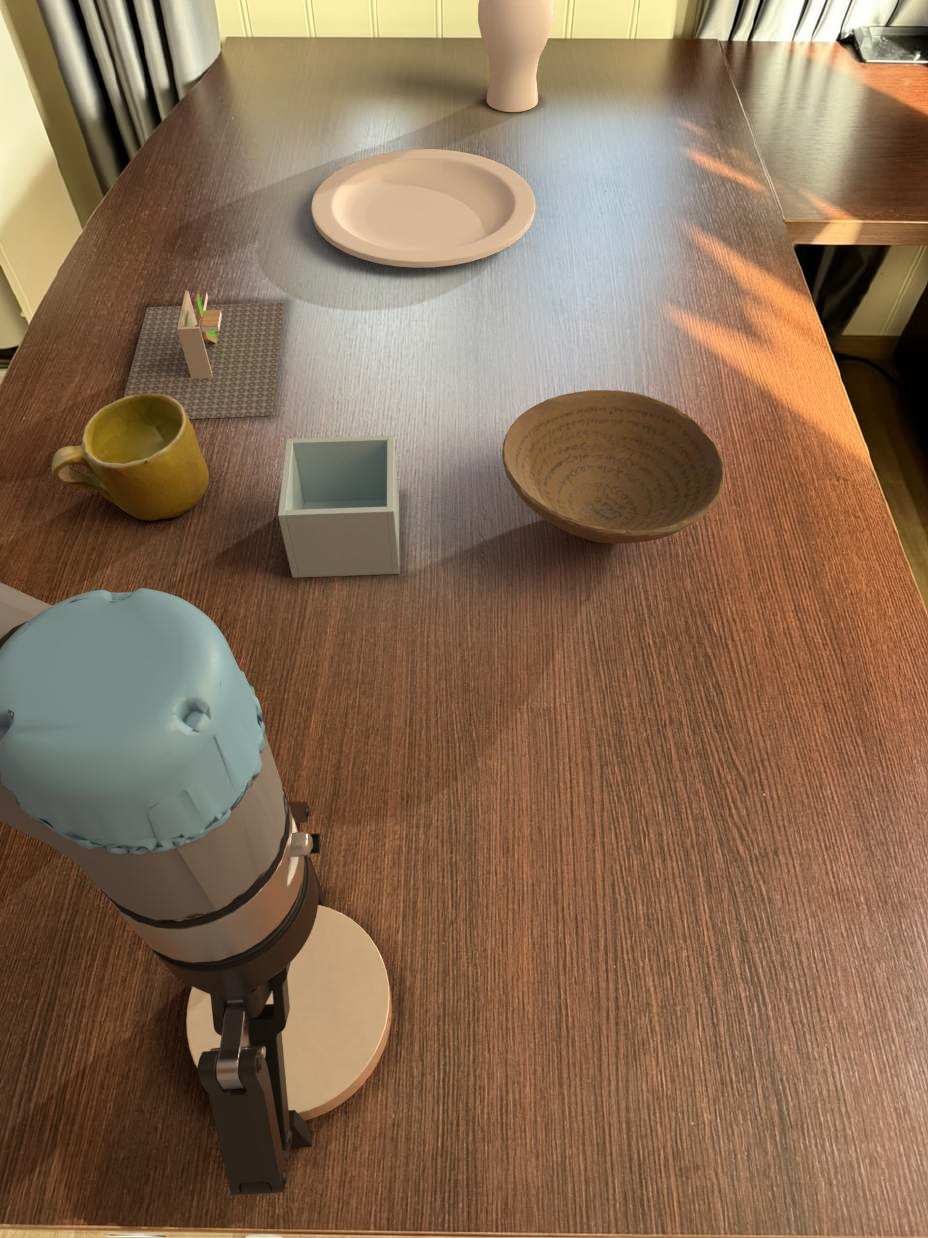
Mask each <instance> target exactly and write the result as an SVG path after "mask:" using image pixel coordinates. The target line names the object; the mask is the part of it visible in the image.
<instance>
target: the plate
mask: <svg viewBox="0 0 928 1238" xmlns="http://www.w3.org/2000/svg"><path fill="white" fill-rule="evenodd" d="M311 200H312V201H311V206H310V208H311V209H310V210H311V215H312V221H313V224H314V226H315V228H316V230H317V231H318V232H319V234H320V235H321V236H322V237H323V238H324V240H326V241H327V242H328V243H329V244H331V245H332V246H333V247H335V248H337V249H338V250H340V251H342V252H344V253H346V254H347V255H351V256H353V257H355V258H358V259H361V260H363V261H368V262H372V263H376V264H380V265H386V266H392V267H399V268H400V267H402V268H403V267H404V268H414V269H417V268H439V267H448V266H449V267H451V266H455V265H456V266H457V265H461V264H466V263H471V262H474V261H478V260H482V259H484V258H487V257H490V256H492V255H494V254H497V253H500V252H501V251H504V250H505V249H507V248H508V247H510V246H512V245H513V244H514V243H516V242H517V241H519V239H521V238H522V237H523V236H524V235H525V234H526V232H527V231H528V230H529V228H530V227H531V226H532V224H533V221H534V219H535V214H536V199H535V194H534V192H533V190H532V188H531V186H530V185H529V183H528V182H527V181H526V180H525V179H524V178H523V177H522V176H521V175H520V174H518V173H517V172H516V171H514V170H513V169H511V168H510V167H508V166H507V165H504V164H503V163H500V162H498V161H496V160H493V159H490V158H488V157H485V156H481V155H478V154H472V153H468V152H463V151H457V150H450V149H432V148H426V149H425V148H423V149H422V148H417V149H416V148H415V149H405V150H397V151H390V152H383V153H380V154H376V155H371V156H368V157H365V158H362V159H359V160H357V161H354V162H351V163H349V164H347V165H345V166H343V167H341V168H340V169H337V170H336V171H335V172H333V173H331V175H329V176H328V177H326V178H325V180H323V181H322V182H321V183H320V185H319V186H318V188H317V189H316V190H315V192H314V195H313V197H312V199H311Z"/></svg>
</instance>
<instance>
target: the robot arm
mask: <svg viewBox="0 0 928 1238" xmlns="http://www.w3.org/2000/svg"><path fill="white" fill-rule="evenodd" d="M248 681H249V680H248V679H247V677H246V674H245V672H244V670H241V669H240V666H239V665H238V663H237V661H236V658H235V656H234V654H233V652H232V650H231V647H230V645H229V642H228V641H227V639H226V637H225V636H224V634H223V633H222V631H221V630H220V629H219V627H218V626H217V624H216V623H215V622H214V621H213V620H212V619H211V618H210V617H209V616H208V615H207V614H206V613H204V612H203V611H202V610H201V609H199V608H198V607H196V606H195V605H194V604H192V603H190V602H189V601H187V600H185V599H184V598H181V597H179V596H177V595H174V594H171V593H168V592H164V591H160V590H155V589H151V588H146V587H140V588H137V589H135V590H134V591H124V592H123V591H122V592H113V591H108V590H106V589H98V590H91V591H87V592H84V593H80V594H77V595H74V596H71V597H68V598H66V599H64V600H62V601H59V602H57V603H55V604H53V605H52V604H50V603H47V602H44V601H42V600H40V599H38V598H36V597H33V596H31V595H29V594H28V593H25V592H23V591H20V590H18V589H16V588H13V587H12V586H10V585H7V584H5V583H3V582H1V581H0V822H1V823H3V824H5V825H7V826H9V827H11V828H14V829H15V830H17V831H19V832H21V833H23V834H25V835H27V836H29V837H31V838H33V839H35V840H37V841H39V842H41V843H42V844H43V843H44V844H45V845H47V846H49V847H51V848H53V849H55V850H56V851H58V852H59V853H62V854H63V855H64V856H66V857H67V858H68V859H70V860H71V861H73V862H74V863H75V864H76V865H78V866H79V867H80V869H81V870H82V871H83V872H84V873H85V874H86V875H87V876H88V877H89V878H90V880H92V882H94V884H95V885H96V886H97V887H98V888H99V889H100V891H101V892H102V894H104V896H105V897H106V898H107V899H108V900H109V901H110V902H111V904H112V905H113V906H114V908H115V909H116V911H118V912H119V914H120V915H121V916H122V917H123V919H124V920H125V921H126V923H127V924H128V925H129V926H130V927H131V928H132V930H133V931H134V932H135V933H136V934H137V935H138V936H139V937H140V938H141V940H143V942H145V944H146V945H147V946H148V947H149V948H150V949H151V951H152V952H153V953H154V954H155V955H156V957H157V958H158V959H159V960H160V962H162V964H164V966H165V967H166V968H167V969H168V971H170V972H171V974H172V975H174V976H175V977H176V978H178V979H179V980H180V981H182V982H183V983H185V984H186V985H189V987H190V986H191V988H192V987H194V988H197V989H199V990H201V991H203V992H206V993H208V994H210V996H211V1006H212V1015H213V1025H214V1030H215V1032H216V1033H217V1034H219V1035H221V1043H220V1048H211V1049H210V1051H203V1052H202V1054H201V1056H200V1058H199V1062H198V1068H197V1067H196V1069H197V1074H198V1080H199V1083H200V1084H201V1085H202V1087H203V1088H204V1090H205V1091H206V1093H207V1094H208V1098H209V1103H210V1107H211V1111H212V1116H213V1121H214V1125H215V1130H216V1133H217V1139H218V1143H219V1147H220V1151H221V1156H222V1157H221V1158H222V1161H223V1166H224V1170H225V1175H226V1179H227V1183H228V1188H229V1191H230V1195H231V1196H246V1195H263V1194H265V1195H266V1194H275V1193H276V1194H278V1193H284V1191H285V1190H286V1187H287V1184H288V1177H289V1175H288V1171H287V1170H286V1162H289V1161H290V1159H291V1152H292V1151H291V1149H297V1148H310V1147H313V1138H314V1137H313V1136H314V1131H313V1129H312V1128H311V1127H310V1126H309V1125H308V1124H307V1123H306V1120H305V1121H304V1120H303V1119H302V1118H301V1116H300V1115H299V1114H298V1113H297V1112H296V1110H288V1099H287V1088H286V1076H285V1065H284V1053H283V1042H282V1031H283V1030H284V1029H285V1027H286V1023H287V1019H288V1015H289V1010H290V1004H289V992H288V981H287V975H288V971H289V968H290V964H291V961H292V960H293V959H294V958H295V957H296V956H297V954H298V953H299V952H300V950H301V949H302V948H303V946H304V945H305V943H306V941H307V939H308V937H309V936H310V933H311V931H312V929H313V926H314V923H315V919H316V915H317V909H318V905H320V906H324V907H325V895H324V892H323V889H322V886H321V883H320V881H319V877H318V875H317V872H316V869H315V867H314V864H313V861H312V857H309V855H313V854H320V853H321V845H322V844H321V843H322V841H321V834H320V833H318V832H316V833H309V832H308V831H301V824H302V823H308V820H309V817H310V815H311V809H310V807H309V806H310V805H308V802H307V801H289V800H288V798H287V795H286V792H285V790H284V787H283V781H282V780H281V776H280V774H279V770H278V768H277V764H276V761H275V758H274V756H273V753H272V750H271V746H270V742H269V741H268V737H267V734H266V725H265V723H264V720H263V712H262V708H261V704H260V700H259V698H258V697H257V696H256V692H255V688H254V687H253V685H250V683H249V682H248ZM271 993H273V1004H266V1002H267V1000H268V998H269V997H270V995H271Z"/></svg>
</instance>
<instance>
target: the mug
mask: <svg viewBox="0 0 928 1238" xmlns="http://www.w3.org/2000/svg"><path fill="white" fill-rule="evenodd" d="M123 397H124V396H123ZM123 397H121V398H119V399H117V400H114V401H113V402H111V403H109V404H107V405H104V406H103V407H101V408H100V409H98V411H96V412H95V413H94V414H93V416H92V417H90V419H89V420H88V421H87V423H86V424H85V426H84V430H83V436H82V438H81V439H82V442H81V444H79V445H68V446H63V447H61V448H59V449H58V450H57V451H56V452H55V453H54V455H53V457H52V461H51V475H52V476H53V477H54V478H55V479H57V480H58V481H59V482H60V483H63V484H66V485H68V486H70V487H75V488H79V489H86V490H89V491H93V492H96V493H99V494H100V495H101V496H103V497H104V498H105V499H106V500H108V501H109V502H110V503H112V504H113V505H115V506H117V507H118V508H119V509H120V510H122V511H123V512H125V513H127V514H128V515H130V516H132V517H133V518H135V519H139V520H142V521H147V522H153V521H159V520H162V519H163V520H164V519H167V520H168V519H169V520H171V519H173V518H176V517H177V518H178V517H180V516H183V515H184V514H187V512H190V511H191V510H193V509H194V508H195V507H196V506H197V505H198V504H199V503H200V502H201V500H202V499H203V497H204V495H205V494H206V492H207V489H208V487H209V483H210V475H209V474H210V473H209V468H208V466H207V463H206V460H205V458H204V456H203V453H202V451H201V449H200V445H199V441H198V437H197V435H196V432H195V429H194V427H193V424H192V422H191V419H189V418H188V416H187V414H186V412H185V410H184V408H183V407H182V405H181V404H179V403H178V402H177V401H176V400H175V399H173V398H171V397H169V396H165V395H161V394H155V393H145V394H139V395H131V396H127V397H124V398H123ZM77 465H79V466H82V467H85V468H86V469H87V470H88V471H90V473H89V472H86V471H83V470H79V469H76V468H72V467H74V466H77Z"/></svg>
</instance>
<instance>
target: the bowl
mask: <svg viewBox="0 0 928 1238" xmlns="http://www.w3.org/2000/svg"><path fill="white" fill-rule="evenodd" d="M720 451H721V450H720V449H719V447H718V446H717V444H716V442H715V441H714V439H713V438H712V437H711V436H710V435H709V433H707V431H705V430H704V428H703V427H702V426H701V425H700V424H699V423H698V422H697V421H696V420H694V419H693V418H692V417H691V416H689V415H688V414H687V413H684V412H683V411H681V410H680V409H679V408H677V407H676V406H674V405H671V404H669V403H667V402H665V401H662V400H659V399H657V398H654V397H651V396H648V395H646V394H643V393H638V392H633V391H625V390H619V389H616V390H612V389H593V390H592V389H590V390H583V391H576V392H570V393H565V394H560V395H557V396H554V397H551V398H547V399H545V400H543V401H542V402H539V403H536V405H534V406H532V407H530V408H529V409H527V410H525V411H524V412H523V413H522V414H521V415H519V416H518V417H517V418H516V419H515V420H514V421H513V423H512V424H511V425H510V427H509V429H508V431H507V432H506V434H505V436H504V439H503V442H502V449H501V454H502V455H501V460H502V465H503V468H504V471H505V475H506V477H507V479H508V481H509V483H510V484H511V486H512V488H513V490H514V491H515V492H516V494H517V495H518V496H519V498H520V499H521V500H522V501H523V502H524V504H525V505H526V506H527V507H528V508H529V509H530V510H532V511H533V512H534V513H535V514H537V516H539V517H540V518H542V519H543V520H544V521H546V522H547V523H549V524H551V525H553V526H555V527H556V528H558V529H560V530H562V531H564V532H566V533H568V534H570V535H573V536H576V537H579V538H581V539H583V540H588V541H591V542H595V543H601V544H612V545H613V544H637V543H645V542H649V541H650V542H651V541H655V540H660V539H663V538H667V537H669V536H672V535H674V534H677V533H679V532H681V531H683V530H685V529H687V528H689V527H691V526H692V525H694V524H696V523H698V522H699V521H700V520H702V519H703V518H704V517H705V516H706V515H707V514H708V513H710V511H711V510H712V509H713V508H714V507H715V505H716V504H717V502H718V500H719V499H720V497H721V495H722V493H723V491H724V487H725V482H726V468H725V463H724V460H723V456H722V453H721V452H720Z"/></svg>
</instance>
